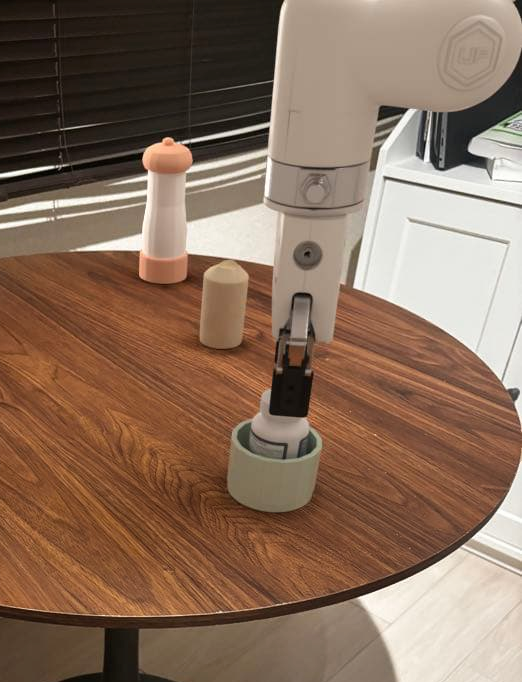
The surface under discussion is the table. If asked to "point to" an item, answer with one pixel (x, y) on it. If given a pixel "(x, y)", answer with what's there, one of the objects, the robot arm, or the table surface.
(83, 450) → the table surface
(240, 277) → the candle
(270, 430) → the pill bottle
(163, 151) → the pepper shaker
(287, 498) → the cup
